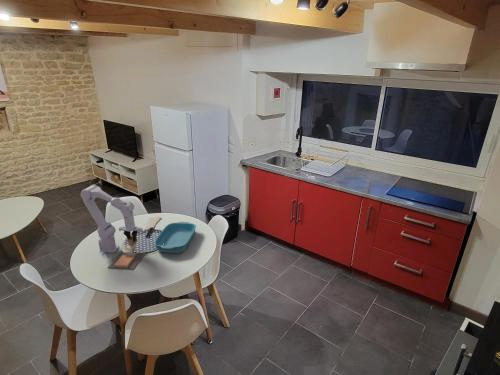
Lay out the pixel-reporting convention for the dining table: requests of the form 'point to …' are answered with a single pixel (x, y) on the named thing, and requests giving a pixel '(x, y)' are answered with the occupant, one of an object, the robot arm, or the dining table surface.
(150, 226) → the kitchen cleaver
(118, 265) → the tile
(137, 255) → the mat
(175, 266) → the dining table surface
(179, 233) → the casserole dish
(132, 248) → the tall cardboard box
